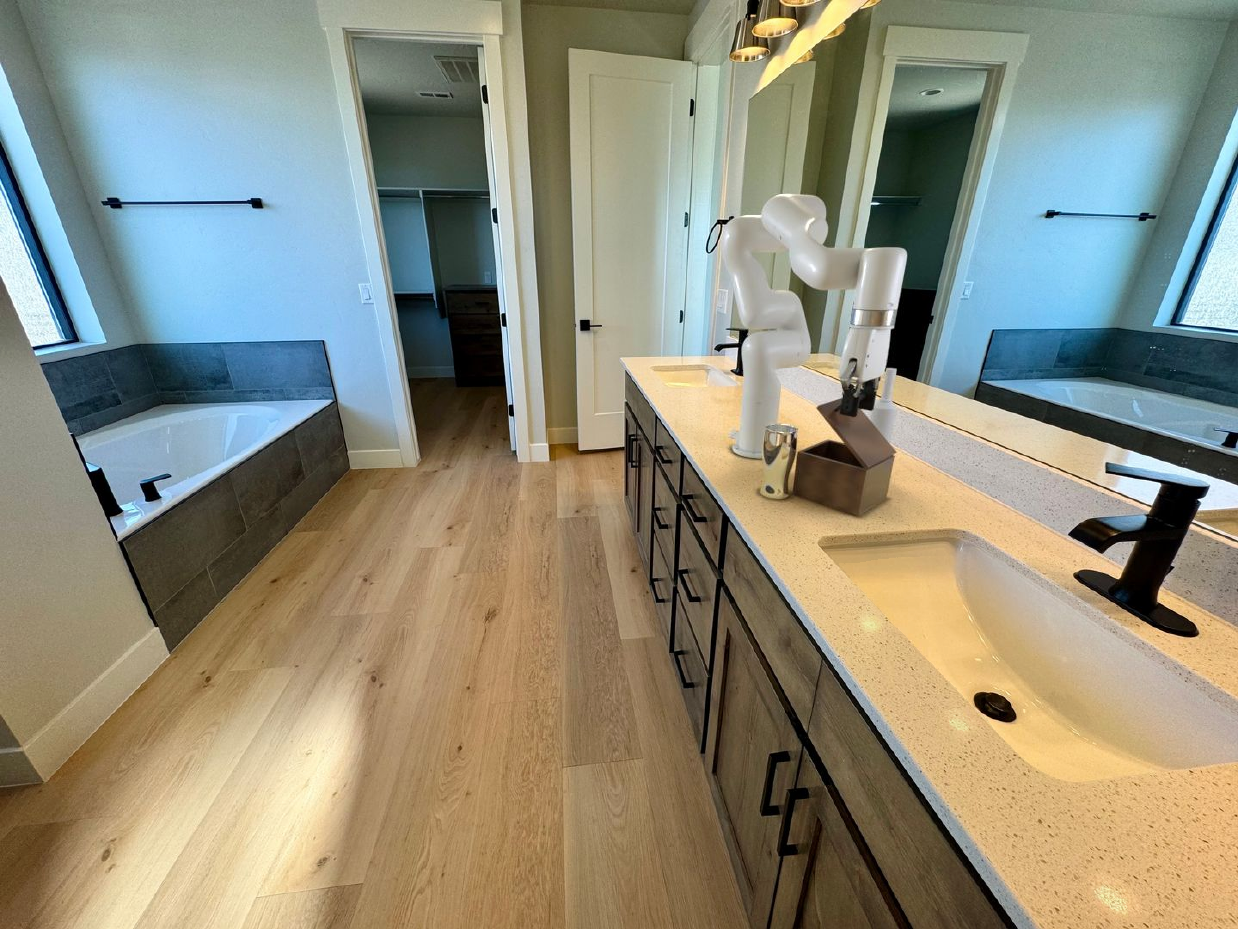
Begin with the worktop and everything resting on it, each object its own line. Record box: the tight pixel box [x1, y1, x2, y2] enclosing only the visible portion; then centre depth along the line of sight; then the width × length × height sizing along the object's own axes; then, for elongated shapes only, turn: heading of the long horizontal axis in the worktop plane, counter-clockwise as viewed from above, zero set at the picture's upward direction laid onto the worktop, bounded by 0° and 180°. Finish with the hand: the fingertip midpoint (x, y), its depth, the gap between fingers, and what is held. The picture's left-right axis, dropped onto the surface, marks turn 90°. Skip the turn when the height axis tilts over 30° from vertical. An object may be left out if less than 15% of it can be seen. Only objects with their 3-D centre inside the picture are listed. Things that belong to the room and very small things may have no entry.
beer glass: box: [759, 423, 799, 500], centre depth 105 cm, size 7×7×15 cm
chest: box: [791, 438, 896, 517], centre depth 104 cm, size 15×13×10 cm
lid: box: [815, 392, 898, 469], centre depth 98 cm, size 15×13×5 cm
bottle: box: [869, 367, 898, 444], centre depth 113 cm, size 5×5×25 cm
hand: (856, 411), depth 98 cm, fingers closed on lid, 6 cm apart
